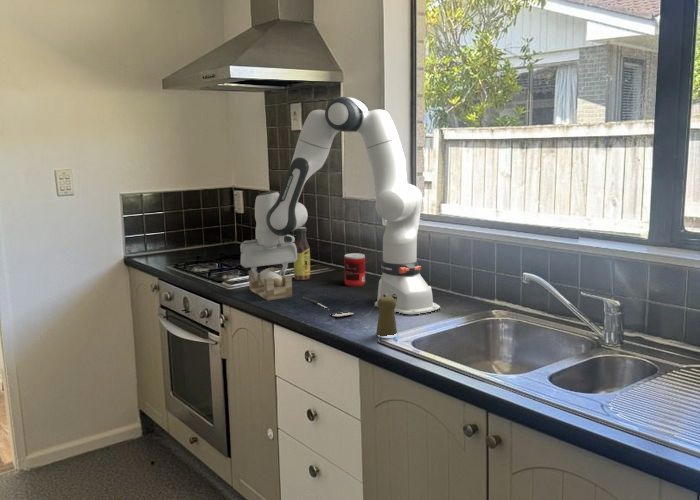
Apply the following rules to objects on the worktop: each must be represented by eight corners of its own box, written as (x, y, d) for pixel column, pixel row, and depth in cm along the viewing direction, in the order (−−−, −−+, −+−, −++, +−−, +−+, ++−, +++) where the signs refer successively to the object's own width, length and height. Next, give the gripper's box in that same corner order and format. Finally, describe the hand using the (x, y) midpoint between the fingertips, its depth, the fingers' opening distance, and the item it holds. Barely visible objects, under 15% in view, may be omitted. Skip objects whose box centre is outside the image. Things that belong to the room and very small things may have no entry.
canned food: (361, 281, 253) (361, 252, 251) (368, 285, 246) (368, 256, 244) (341, 282, 251) (341, 253, 249) (348, 287, 243) (348, 258, 241)
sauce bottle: (307, 281, 254) (306, 229, 250) (292, 280, 255) (290, 228, 251) (312, 277, 260) (311, 226, 256) (296, 276, 261) (295, 226, 258)
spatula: (337, 320, 205) (337, 316, 204) (295, 299, 230) (295, 295, 229) (355, 317, 208) (354, 313, 208) (311, 297, 233) (310, 293, 232)
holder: (292, 297, 231) (291, 277, 230) (267, 300, 227) (267, 280, 225) (272, 286, 246) (271, 267, 245) (249, 289, 242) (248, 270, 241)
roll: (285, 291, 230) (288, 277, 230) (271, 289, 228) (274, 275, 227) (267, 281, 244) (270, 268, 244) (254, 280, 241) (257, 266, 241)
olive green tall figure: (398, 338, 186) (399, 300, 184) (377, 339, 186) (377, 300, 184) (395, 331, 192) (395, 294, 190) (374, 332, 192) (374, 295, 189)
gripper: (243, 242, 225) (244, 282, 228) (298, 236, 235) (299, 275, 237) (236, 239, 231) (238, 279, 233) (291, 234, 240) (292, 272, 243)
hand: (269, 277), depth 235 cm, fingers open, 8 cm apart
